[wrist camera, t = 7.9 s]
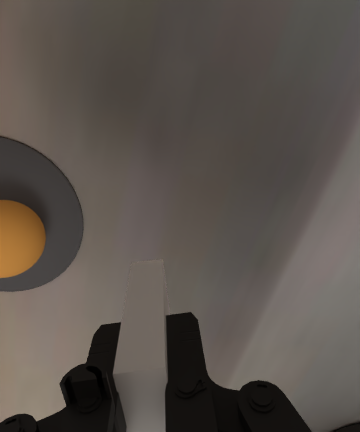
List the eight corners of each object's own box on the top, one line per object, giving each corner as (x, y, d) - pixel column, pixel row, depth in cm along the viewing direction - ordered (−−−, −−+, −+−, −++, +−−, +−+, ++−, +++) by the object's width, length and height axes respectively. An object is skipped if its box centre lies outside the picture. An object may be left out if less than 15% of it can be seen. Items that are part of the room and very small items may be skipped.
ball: (-11, 271, 26) (55, 239, 28) (-18, 307, 21) (62, 265, 23) (-53, 212, 24) (22, 180, 25) (-72, 237, 19) (22, 196, 21)
